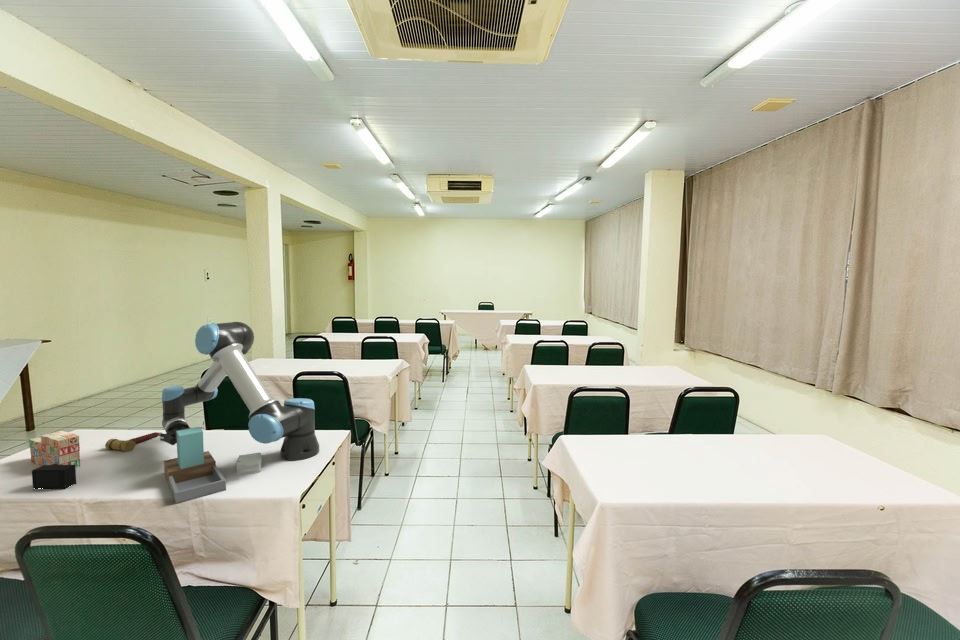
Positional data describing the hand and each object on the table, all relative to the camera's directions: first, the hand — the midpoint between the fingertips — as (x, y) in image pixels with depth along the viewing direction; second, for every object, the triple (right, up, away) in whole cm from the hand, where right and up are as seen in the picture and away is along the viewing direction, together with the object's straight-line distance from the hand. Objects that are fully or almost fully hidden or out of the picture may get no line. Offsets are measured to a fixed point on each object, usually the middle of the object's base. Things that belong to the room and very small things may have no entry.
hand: (186, 445), depth 152 cm
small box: (+21, -11, +5) cm, 24 cm away
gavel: (-43, -9, +31) cm, 53 cm away
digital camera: (-38, -11, -10) cm, 41 cm away
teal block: (+3, -6, -2) cm, 7 cm away
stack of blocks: (-56, -10, +7) cm, 57 cm away
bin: (+11, -12, -10) cm, 19 cm away
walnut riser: (+1, -11, 0) cm, 11 cm away
